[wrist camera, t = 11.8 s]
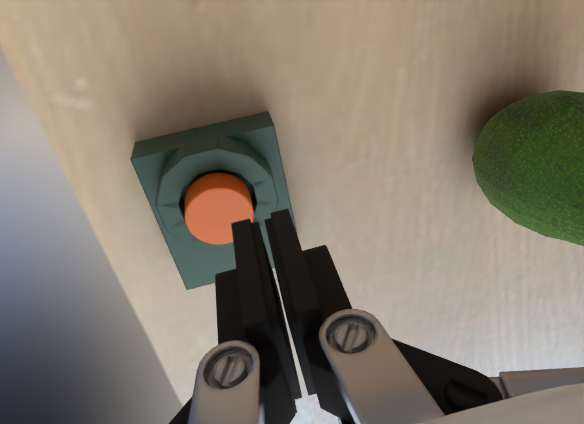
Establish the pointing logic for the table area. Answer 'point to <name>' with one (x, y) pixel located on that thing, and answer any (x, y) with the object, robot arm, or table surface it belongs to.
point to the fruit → (536, 163)
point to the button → (216, 207)
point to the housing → (203, 160)
